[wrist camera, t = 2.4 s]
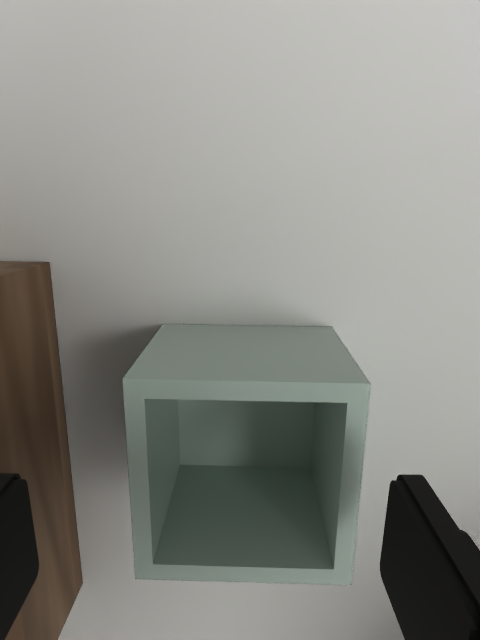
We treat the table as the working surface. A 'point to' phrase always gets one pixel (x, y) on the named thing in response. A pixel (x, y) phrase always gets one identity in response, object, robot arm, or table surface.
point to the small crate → (245, 454)
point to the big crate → (38, 443)
